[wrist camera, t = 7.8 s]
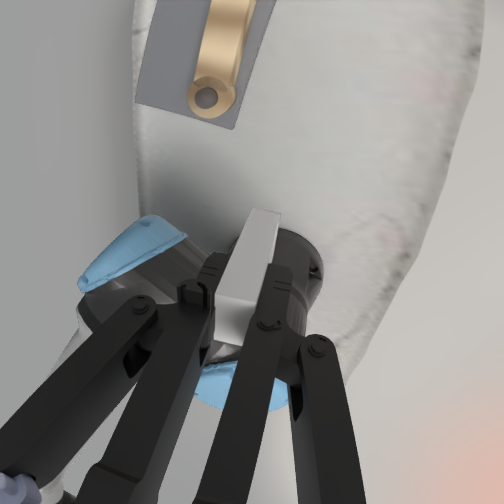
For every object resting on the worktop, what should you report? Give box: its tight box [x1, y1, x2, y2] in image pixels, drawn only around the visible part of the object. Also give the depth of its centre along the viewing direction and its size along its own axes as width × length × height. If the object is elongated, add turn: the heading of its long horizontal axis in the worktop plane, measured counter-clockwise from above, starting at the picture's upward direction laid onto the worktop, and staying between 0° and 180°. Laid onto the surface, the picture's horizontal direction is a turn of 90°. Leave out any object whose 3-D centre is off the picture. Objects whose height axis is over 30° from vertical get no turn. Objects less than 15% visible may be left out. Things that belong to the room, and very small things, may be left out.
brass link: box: [187, 0, 257, 119], centre depth 28 cm, size 20×5×4 cm, turn 167°
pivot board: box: [135, 0, 276, 130], centre depth 28 cm, size 29×14×1 cm, turn 163°
